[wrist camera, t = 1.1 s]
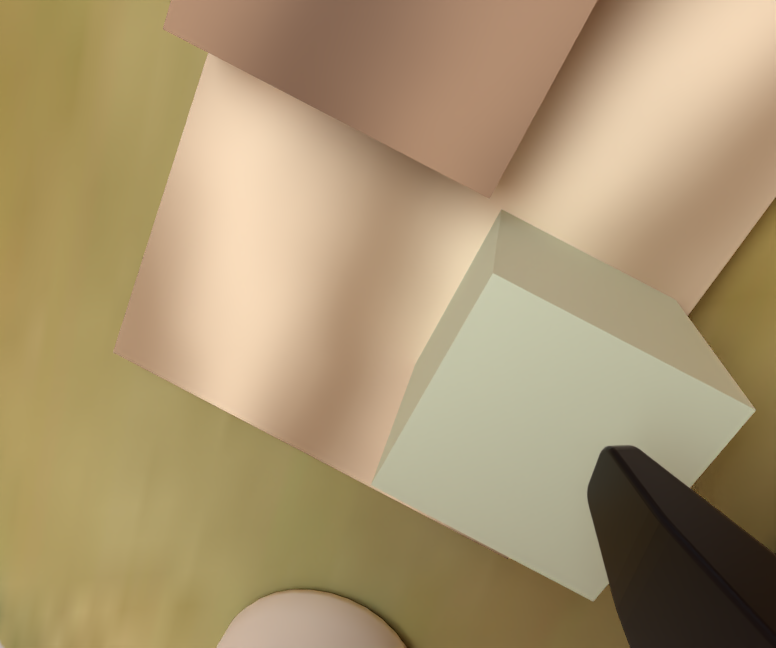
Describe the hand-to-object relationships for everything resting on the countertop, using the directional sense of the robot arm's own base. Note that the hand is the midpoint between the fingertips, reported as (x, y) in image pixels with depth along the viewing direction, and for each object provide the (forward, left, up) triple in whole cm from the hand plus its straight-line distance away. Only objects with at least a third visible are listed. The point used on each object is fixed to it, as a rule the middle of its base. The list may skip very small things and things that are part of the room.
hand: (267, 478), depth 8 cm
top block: (-4, 0, -10) cm, 11 cm away
